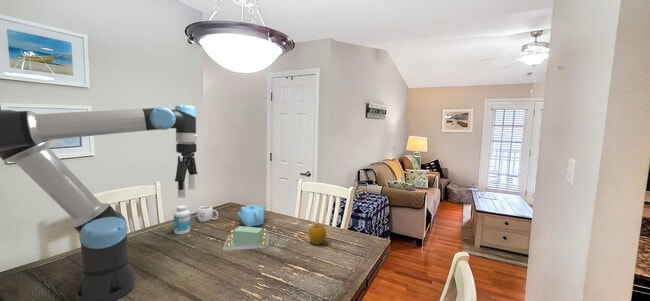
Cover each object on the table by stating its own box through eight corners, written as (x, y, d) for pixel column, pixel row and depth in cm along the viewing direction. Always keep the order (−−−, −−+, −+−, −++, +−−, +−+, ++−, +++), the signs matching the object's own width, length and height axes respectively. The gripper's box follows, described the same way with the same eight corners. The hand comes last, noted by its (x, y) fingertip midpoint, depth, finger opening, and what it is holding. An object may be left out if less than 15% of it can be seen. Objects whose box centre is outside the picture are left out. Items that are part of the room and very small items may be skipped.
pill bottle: (173, 231, 139) (172, 205, 138) (189, 228, 143) (188, 203, 142) (174, 236, 133) (174, 209, 132) (191, 233, 137) (190, 207, 136)
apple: (329, 244, 129) (330, 226, 128) (315, 248, 124) (315, 230, 123) (318, 238, 135) (319, 221, 135) (305, 242, 130) (305, 224, 129)
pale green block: (262, 238, 130) (262, 228, 130) (257, 243, 124) (257, 232, 124) (239, 235, 132) (239, 226, 131) (233, 241, 126) (233, 230, 125)
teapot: (232, 223, 151) (232, 204, 150) (262, 217, 162) (262, 199, 161) (242, 233, 139) (242, 212, 138) (274, 226, 150) (274, 206, 149)
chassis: (269, 235, 137) (269, 227, 136) (268, 247, 123) (268, 238, 123) (228, 237, 133) (228, 228, 132) (222, 250, 119) (222, 240, 119)
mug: (194, 222, 151) (193, 209, 151) (201, 217, 160) (201, 204, 159) (214, 223, 151) (214, 210, 150) (221, 218, 159) (221, 205, 158)
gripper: (186, 145, 100) (187, 201, 102) (203, 141, 124) (204, 186, 126) (164, 145, 98) (166, 201, 100) (186, 141, 123) (186, 186, 124)
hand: (187, 193), depth 113 cm, fingers open, 13 cm apart
